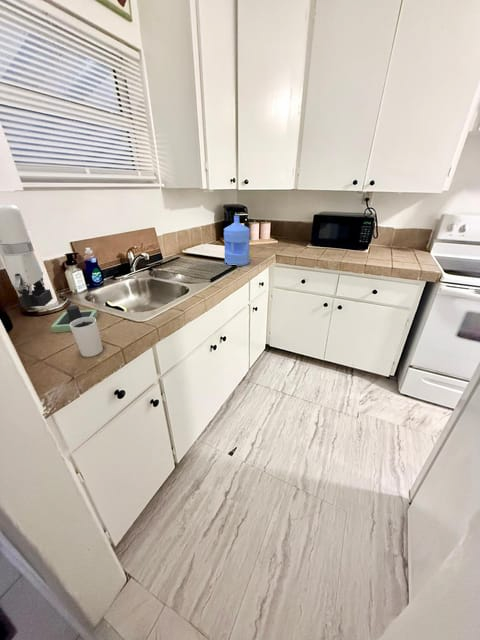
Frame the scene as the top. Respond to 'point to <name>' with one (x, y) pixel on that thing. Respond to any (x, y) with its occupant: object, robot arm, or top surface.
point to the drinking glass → (87, 336)
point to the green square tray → (66, 327)
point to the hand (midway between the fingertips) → (37, 300)
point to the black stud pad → (73, 315)
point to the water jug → (236, 243)
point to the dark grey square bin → (39, 298)
